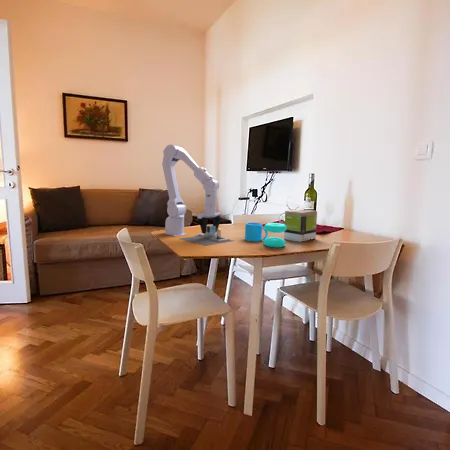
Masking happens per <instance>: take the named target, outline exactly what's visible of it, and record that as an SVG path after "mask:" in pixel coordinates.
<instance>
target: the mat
mask: <svg viewBox="0 0 450 450" xmlns="http://www.w3.org/2000/svg"><path fill="white" fill-rule="evenodd" d="M178 240H182V241H185V242H189V243H194V244H197V245H201V246H203V247H204V246H205V247H207V246H212V245H218V244H225V243H231V242H235V240H233V239H229V240H228V241H222V242H216V241H212V240H208V239H207V238H204V237H202V236H196V235H194V236H187V237H180V238H178Z"/></svg>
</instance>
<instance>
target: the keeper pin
mask: <svg viewBox="0 0 450 450" xmlns="http://www.w3.org/2000/svg"><path fill="white" fill-rule="evenodd" d="M216 237H217V238H216V239H218V240H220V239H221V237H222V229H221V228H218V229H217V232H216Z"/></svg>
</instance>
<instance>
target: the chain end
mask: <svg viewBox="0 0 450 450" xmlns="http://www.w3.org/2000/svg"><path fill="white" fill-rule="evenodd" d="M195 236H202V237H204V238H207V239H208V240H212V241H216V242H222V241H228V240H230V238H228V237H223V236H221V239H220V240H218V239H216V238H217V232H216V226H214V225H213V224H207V227H206V233H202V232H201V233H196V234H195Z"/></svg>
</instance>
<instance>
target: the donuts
mask: <svg viewBox="0 0 450 450" xmlns="http://www.w3.org/2000/svg"><path fill="white" fill-rule="evenodd" d="M263 227H264V228H265V230H266V231H267V232H269V233H273V234H281V233H284V231H286V229H287V227H286V225H285V223H279V222H267V223H265V224H264V226H263ZM263 245H265V246H266V247H269V248H283V247H285V246H286V239H284V238H281V237H277V236H267V238H266V239H265V240H263Z"/></svg>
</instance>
